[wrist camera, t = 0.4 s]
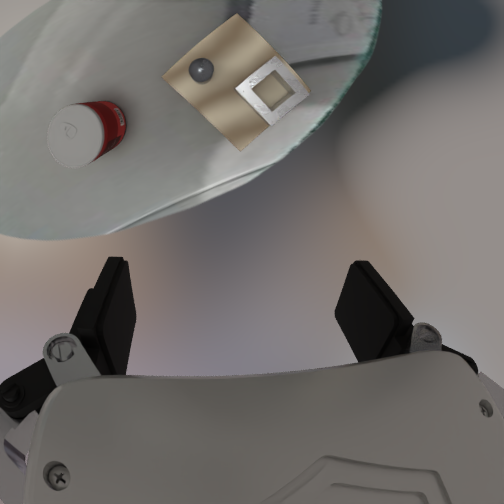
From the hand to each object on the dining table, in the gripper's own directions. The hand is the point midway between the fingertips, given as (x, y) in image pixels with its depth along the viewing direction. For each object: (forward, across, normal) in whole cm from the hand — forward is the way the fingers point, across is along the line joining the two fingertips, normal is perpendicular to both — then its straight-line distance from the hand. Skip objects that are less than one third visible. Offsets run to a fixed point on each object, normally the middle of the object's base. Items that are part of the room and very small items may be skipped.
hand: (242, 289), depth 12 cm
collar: (+32, -7, -9) cm, 34 cm away
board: (+33, -2, -10) cm, 35 cm away
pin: (+32, +3, -11) cm, 34 cm away
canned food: (+34, +17, -4) cm, 38 cm away
